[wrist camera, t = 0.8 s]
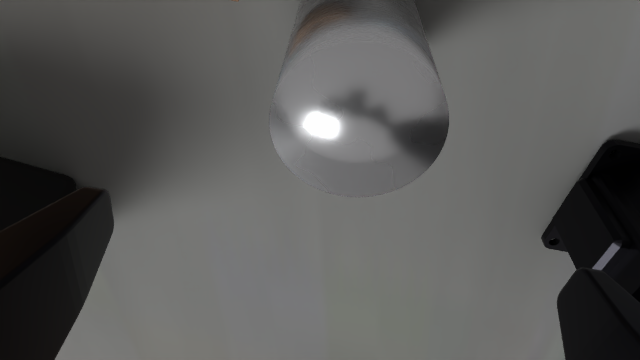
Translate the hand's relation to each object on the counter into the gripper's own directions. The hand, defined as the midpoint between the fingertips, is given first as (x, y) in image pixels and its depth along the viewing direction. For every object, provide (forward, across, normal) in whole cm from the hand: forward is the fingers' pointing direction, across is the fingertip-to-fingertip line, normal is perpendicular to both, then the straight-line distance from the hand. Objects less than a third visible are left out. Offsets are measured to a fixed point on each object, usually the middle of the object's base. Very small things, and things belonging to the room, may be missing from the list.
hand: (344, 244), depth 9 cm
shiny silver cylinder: (+12, 0, 0) cm, 12 cm away
